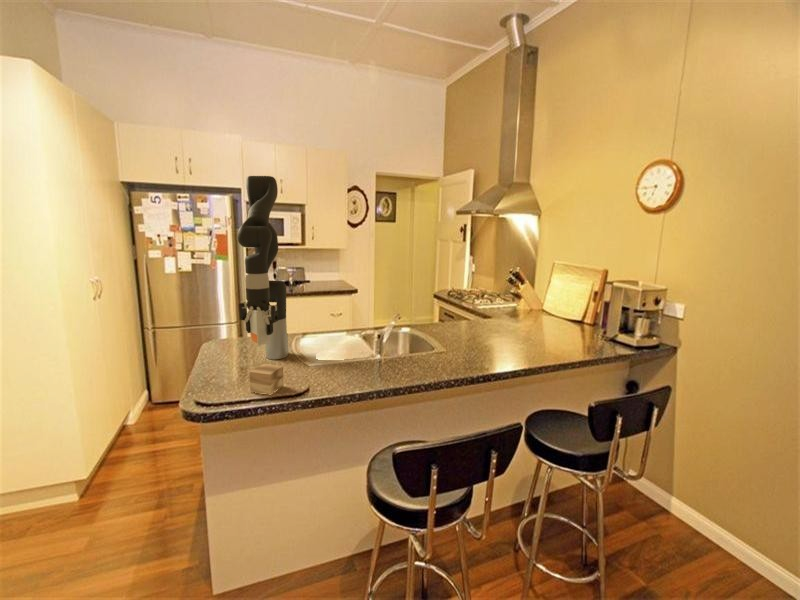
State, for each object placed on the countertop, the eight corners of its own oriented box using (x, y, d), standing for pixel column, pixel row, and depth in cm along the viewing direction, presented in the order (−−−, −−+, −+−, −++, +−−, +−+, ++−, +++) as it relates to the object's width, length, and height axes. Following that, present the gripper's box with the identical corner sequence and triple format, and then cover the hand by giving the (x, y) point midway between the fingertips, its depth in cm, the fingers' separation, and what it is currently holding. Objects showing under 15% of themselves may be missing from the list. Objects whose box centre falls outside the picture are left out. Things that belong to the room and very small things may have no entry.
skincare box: (250, 342, 138) (248, 308, 136) (262, 339, 141) (260, 306, 139) (257, 346, 134) (256, 311, 132) (269, 343, 137) (268, 309, 135)
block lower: (263, 384, 145) (263, 374, 144) (283, 387, 143) (282, 376, 142) (250, 393, 138) (249, 382, 137) (271, 396, 136) (270, 385, 135)
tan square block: (264, 373, 144) (263, 363, 144) (283, 376, 142) (282, 366, 141) (249, 382, 137) (249, 371, 136) (270, 385, 135) (269, 374, 134)
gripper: (282, 285, 136) (284, 332, 139) (246, 283, 139) (248, 328, 143) (269, 289, 129) (271, 338, 132) (231, 286, 132) (234, 334, 135)
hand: (259, 333), depth 137 cm, fingers closed on skincare box, 7 cm apart
